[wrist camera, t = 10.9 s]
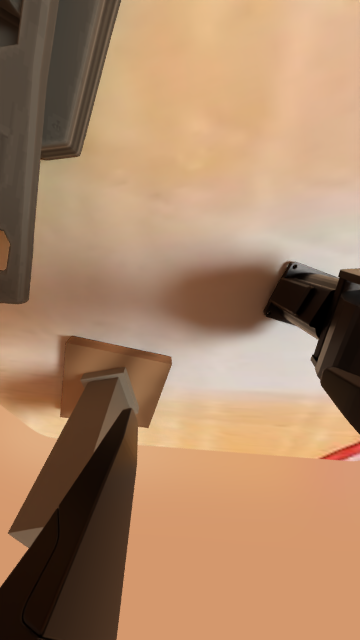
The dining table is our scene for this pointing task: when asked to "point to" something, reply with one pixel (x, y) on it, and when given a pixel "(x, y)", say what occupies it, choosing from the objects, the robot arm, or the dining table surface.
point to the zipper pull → (43, 108)
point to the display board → (98, 356)
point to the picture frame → (74, 447)
